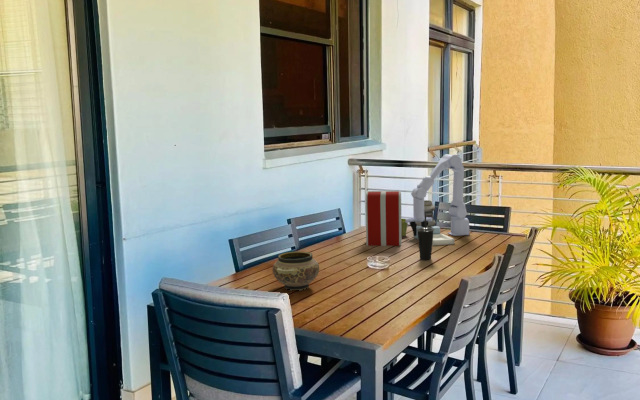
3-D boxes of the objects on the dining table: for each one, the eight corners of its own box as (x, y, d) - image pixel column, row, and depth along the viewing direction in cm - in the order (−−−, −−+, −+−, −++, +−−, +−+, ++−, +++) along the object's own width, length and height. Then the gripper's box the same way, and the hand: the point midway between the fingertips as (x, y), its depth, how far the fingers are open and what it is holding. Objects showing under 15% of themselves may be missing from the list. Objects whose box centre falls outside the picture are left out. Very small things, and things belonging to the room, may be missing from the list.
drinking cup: (434, 261, 265) (433, 217, 262) (416, 261, 266) (416, 217, 264) (434, 257, 272) (434, 214, 270) (417, 257, 274) (417, 214, 271)
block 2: (437, 237, 319) (437, 226, 318) (440, 238, 315) (440, 227, 314) (430, 237, 318) (430, 226, 317) (433, 239, 314) (433, 227, 313)
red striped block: (401, 245, 299) (400, 192, 296) (366, 245, 302) (365, 193, 299) (401, 239, 316) (401, 188, 312) (368, 239, 318) (367, 189, 315)
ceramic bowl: (295, 284, 244) (286, 249, 243) (334, 277, 236) (324, 241, 235) (266, 302, 221) (256, 263, 221) (307, 294, 214) (297, 254, 213)
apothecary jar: (410, 232, 335) (409, 200, 333) (429, 230, 339) (429, 199, 336) (419, 235, 324) (419, 203, 321) (439, 234, 327) (439, 201, 325)
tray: (442, 238, 315) (442, 233, 314) (454, 243, 300) (454, 239, 300) (421, 239, 312) (421, 235, 312) (432, 245, 298) (432, 240, 297)
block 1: (421, 237, 320) (421, 226, 319) (423, 238, 316) (423, 227, 316) (414, 237, 319) (414, 226, 319) (416, 238, 316) (416, 227, 315)
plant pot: (410, 236, 321) (409, 221, 320) (392, 237, 322) (392, 221, 321) (407, 233, 331) (407, 218, 330) (390, 234, 331) (390, 218, 330)
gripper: (408, 212, 311) (408, 237, 312) (434, 210, 313) (434, 235, 315) (403, 210, 317) (404, 235, 319) (429, 208, 320) (429, 233, 322)
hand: (419, 235), depth 318 cm, fingers closed on block 1, 4 cm apart
